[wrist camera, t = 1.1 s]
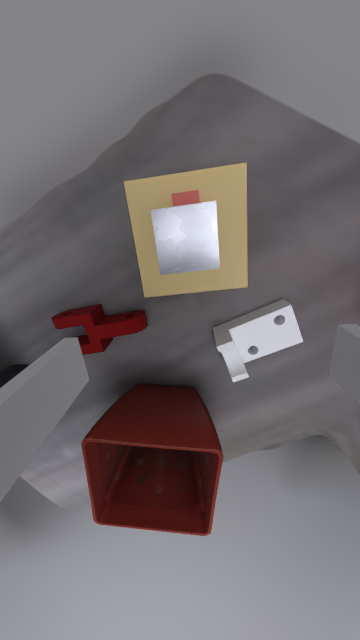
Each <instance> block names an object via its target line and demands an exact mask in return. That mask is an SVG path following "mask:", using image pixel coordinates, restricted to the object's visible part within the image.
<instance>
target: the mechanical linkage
mask: <svg viewBox="0 0 360 640" xmlns="http://www.w3.org/2000/svg"><path fill="white" fill-rule="evenodd" d="M51 319H52V321H53V323H54V325H55V328H56V329H63V328H68V327H74V326H80V325H84V328H85V331H86V333H87V335H83V336H78V341H79V344H80V348H81V351H82V355H85V354H91V353H97V352H104V351H105V349H106V348H107V347H108V345H109V344H110V343H111V341H112V340H113V337H116V336H122V335H128V334H133V333H137V332H140V331H142V330H144V329H145V328H146V327H147V326H148V323H147V320H146V316H145V312H144V311H141V310H139V311H133V312H127V313H122V314H116V315H110V316H105V314H104V311H103V308H102V305H101V304H100V305H95V306H89V307H84V308H78V309H73V310H68V311H65V312H62V313H59V314H57V315H55V316H53V317H52V318H51Z"/></svg>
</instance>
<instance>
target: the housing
mask: <svg viewBox="0 0 360 640" xmlns="http://www.w3.org/2000/svg"><path fill="white" fill-rule="evenodd" d="M124 186H125V192H126V197H127V203H128V208H129V214H130V219H131V225H132V230H133V236H134V241H135V247H136V252H137V258H138V263H139V269H140V274H141V280H142V285H143V291H144V296H145V298H146V297H156V296H166V295H175V294H185V293H195V292H205V291H215V290H225V289H235V288H245V287H248V273H247V163H240V164H234V165H227V166H221V167H214V168H208V169H202V170H195V171H189V172H182V173H176V174H169V175H163V176H157V177H150V178H144V179H137V180H131V181H124ZM211 201H216V207H217V226H218V245H219V263H220V269H211V270H202V271H193V272H183V273H174V274H165V275H160V269H159V263H158V256H157V249H156V243H155V236H154V229H153V222H152V216H151V210H154V209H161V208H168V207H175V206H182V205H190V204H197V203H204V202H211Z"/></svg>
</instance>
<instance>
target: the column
mask: <svg viewBox="0 0 360 640" xmlns="http://www.w3.org/2000/svg"><path fill="white" fill-rule="evenodd" d="M151 216H152V222H153V229H154V236H155V243H156V249H157V256H158V263H159V269H160V275H165V274H174V273H183V272H193V271H202V270H211V269H220V263H219V245H218V226H217V207H216V201H211V202H204V203H197V204H190V205H182V206H175V207H168V208H161V209H154V210H151Z"/></svg>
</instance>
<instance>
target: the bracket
mask: <svg viewBox="0 0 360 640" xmlns="http://www.w3.org/2000/svg"><path fill="white" fill-rule="evenodd" d="M213 332H214V337H215V342H216V347H217V349H218V351H219V352H221V353H222V355H223V357H224V360H225V362H226V364H227V367H228V369H229V372H230V375H231V378H232V380H233V382H236V381H239V380H242V379H245V378H248V377H249V376H248V373H247V371H246V368H245V366H244V363H246V362H248V361H251V360H254V359H257V358H259V357H262V356H265V355H268V354H270V353H273V352H276V351H279V350H281V349H284V348H287V347H290V346H292V345H295V344H298V343H301V342H303V339H302V336H301V333H300V330H299V327H298V324H297V321H296V318H295V315H294V312H293V309H292V306H291V304H289V303H288V302H287V301H285V300H284V299H282V300H280V301H277V302H275V303H272V304H270V305H268V306H265V307H263V308H260V309H258V310H255V311H253V312H250V313H248V314H246V315H243V316H241V317H238V318H236V319H233V320H231V321H229V322H226V323H224V324H221V325H219V326H216V327H214V328H213ZM251 346H253V347H251ZM249 347H250V348H249Z"/></svg>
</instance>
